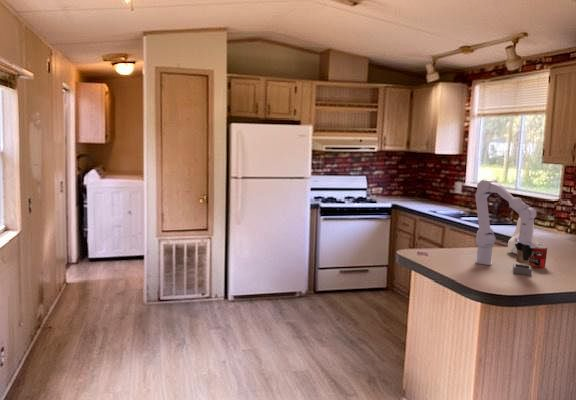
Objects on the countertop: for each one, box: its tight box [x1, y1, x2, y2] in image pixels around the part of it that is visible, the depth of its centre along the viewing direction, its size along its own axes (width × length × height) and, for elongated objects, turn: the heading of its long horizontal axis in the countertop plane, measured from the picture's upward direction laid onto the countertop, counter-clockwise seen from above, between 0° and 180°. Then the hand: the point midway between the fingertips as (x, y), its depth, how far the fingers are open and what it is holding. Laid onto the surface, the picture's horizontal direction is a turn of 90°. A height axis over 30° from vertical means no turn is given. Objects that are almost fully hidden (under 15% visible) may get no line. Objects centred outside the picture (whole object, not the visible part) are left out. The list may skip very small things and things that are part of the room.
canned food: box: [528, 244, 548, 269], centre depth 268 cm, size 8×8×11 cm
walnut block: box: [515, 250, 529, 265], centre depth 254 cm, size 4×4×6 cm
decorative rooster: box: [507, 216, 539, 255], centre depth 291 cm, size 25×16×25 cm, turn 152°
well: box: [512, 263, 533, 277], centre depth 255 cm, size 8×8×3 cm
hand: (523, 259), depth 254 cm, fingers closed on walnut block, 4 cm apart
